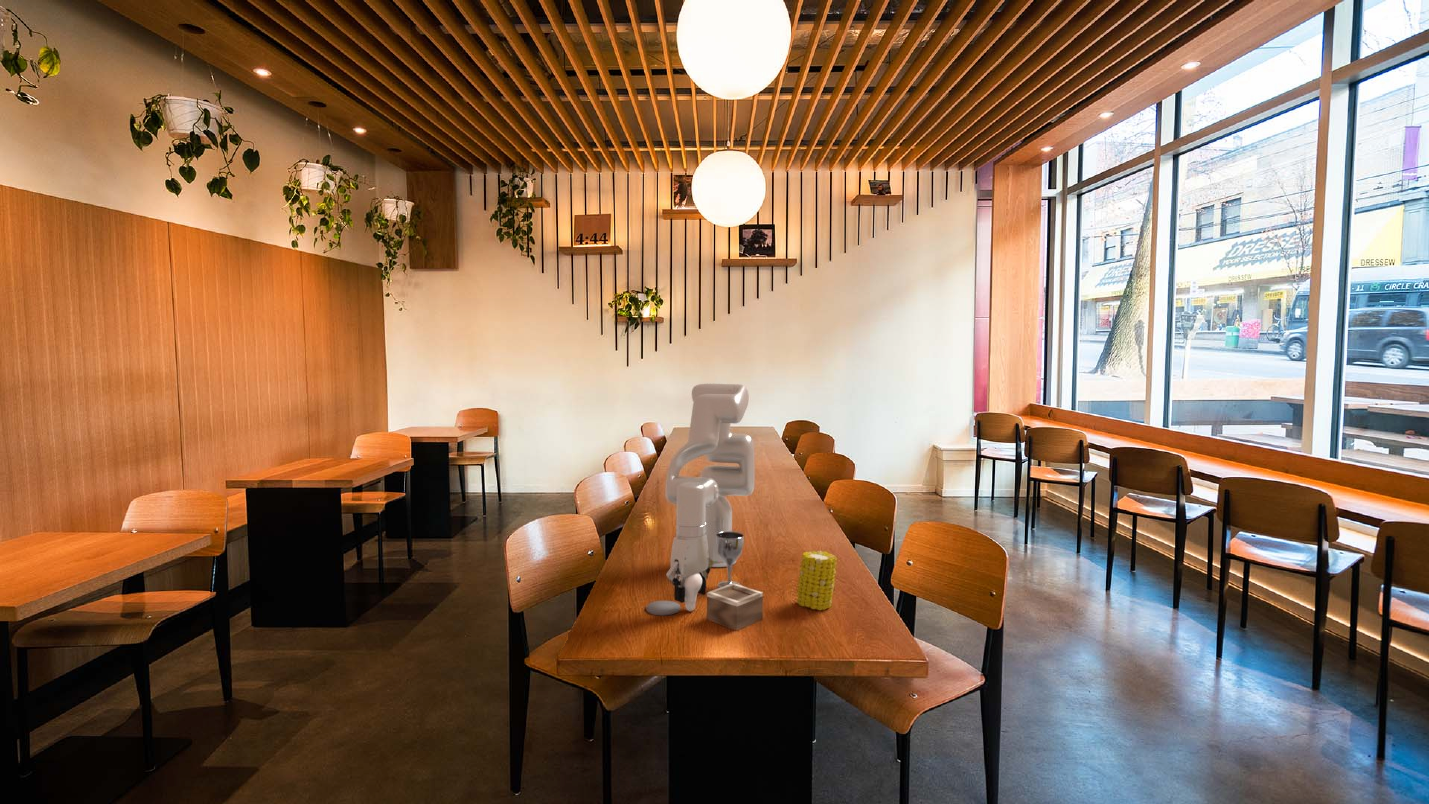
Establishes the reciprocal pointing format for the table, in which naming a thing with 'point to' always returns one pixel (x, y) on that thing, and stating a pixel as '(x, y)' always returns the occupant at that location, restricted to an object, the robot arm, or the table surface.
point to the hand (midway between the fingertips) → (690, 596)
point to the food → (816, 580)
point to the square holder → (734, 606)
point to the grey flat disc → (663, 608)
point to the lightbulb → (691, 590)
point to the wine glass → (729, 551)
